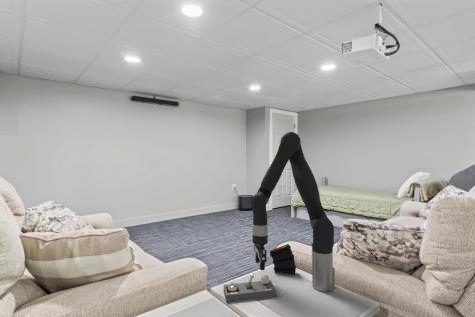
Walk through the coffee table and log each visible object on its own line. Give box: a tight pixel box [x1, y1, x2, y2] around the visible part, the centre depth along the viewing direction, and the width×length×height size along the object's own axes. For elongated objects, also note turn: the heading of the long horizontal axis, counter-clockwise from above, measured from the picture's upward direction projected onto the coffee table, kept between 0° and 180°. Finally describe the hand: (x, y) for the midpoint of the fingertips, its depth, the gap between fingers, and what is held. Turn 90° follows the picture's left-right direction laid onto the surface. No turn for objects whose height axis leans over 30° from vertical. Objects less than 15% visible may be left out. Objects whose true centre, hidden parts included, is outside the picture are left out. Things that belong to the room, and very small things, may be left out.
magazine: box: [269, 243, 297, 276], centre depth 138 cm, size 4×13×15 cm, turn 72°
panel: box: [223, 279, 277, 303], centre depth 118 cm, size 22×9×4 cm, turn 100°
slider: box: [260, 274, 270, 284], centre depth 121 cm, size 3×2×3 cm, turn 100°
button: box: [228, 282, 238, 293], centre depth 117 cm, size 4×4×3 cm
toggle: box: [248, 273, 255, 284], centre depth 118 cm, size 2×2×4 cm
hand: (259, 266), depth 129 cm, fingers open, 8 cm apart
